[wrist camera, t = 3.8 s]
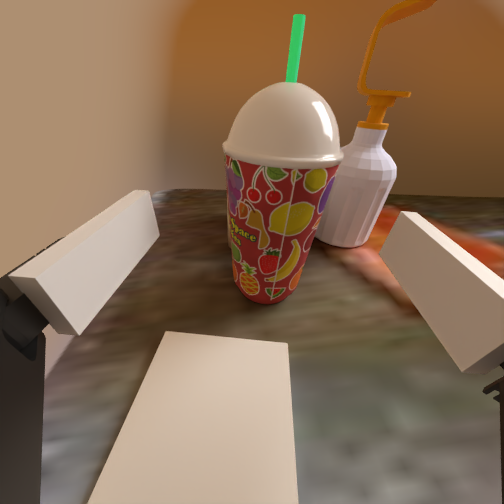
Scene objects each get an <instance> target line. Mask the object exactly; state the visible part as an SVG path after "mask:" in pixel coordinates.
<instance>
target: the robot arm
mask: <svg viewBox="0 0 504 504" xmlns="http://www.w3.org/2000/svg"><path fill="white" fill-rule="evenodd" d="M159 236H160V234H159V230H158V226H157V222H156V218H155V213H154V209H153V205H152V201H151V197H150V193H149V191H143V190H134V191H132V192H131V193H129V194H128V195H126V196H125V197H123V198H122V199H120V200H119V201H117V202H116V203H114V204H113V205H112V206H110V207H109V208H107V209H106V210H104V211H103V212H102V213H100V214H98V215H97V216H95V217H94V218H92V219H91V220H89V221H88V222H86V223H85V224H83V225H82V226H80V227H79V228H78V229H76V230H75V231H73V232H72V233H70V234H69V235H67V236H65V237H63V238H61V239H58V240H57V241H55V242H54V243H52V244H51V245H49V246H48V247H47V248H46V249H43V250H42V251H40V252H39V253H37V255H36V256H33V257H31V258H30V259H28V260H27V261H25V262H24V263H22V264H21V265H19V266H18V267H16V268H15V269H13V270H12V271H10V272H9V273H7V274H6V275H4V276H3V277H1V278H0V504H40V485H41V457H42V430H43V402H44V374H45V346H46V345H45V344H46V338H45V335H44V333H42V330H43V329H44V328H45V327H46V326H47V325H48V324H50V325H51V326H52V327H53V328H54V329H55V331H56V332H57V333H58V334H68V335H78V336H80V334H81V333H82V332H83V331H84V329H85V328H86V327H87V326H88V324H89V323H90V322H91V321H92V319H93V318H94V317H95V316H96V314H97V313H98V312H99V311H100V309H101V308H102V307H103V306H104V304H105V303H106V302H107V301H108V299H109V298H110V297H111V296H112V294H113V293H114V292H115V291H116V289H117V288H118V287H119V286H120V285H121V283H122V282H123V281H124V280H125V278H126V277H127V276H128V275H129V273H130V272H131V271H132V270H133V268H134V267H135V266H136V265H137V263H138V262H139V261H140V260H141V258H142V257H143V256H144V255H145V253H146V252H147V251H148V250H149V248H150V247H151V246H152V245H153V243H154V242H155V241H156V240H157V238H158V237H159ZM379 255H380V257H381V258H382V260H383V261H384V262H385V264H386V265H387V267H388V268H389V270H390V271H391V272H392V274H393V275H394V277H395V278H396V279H397V281H398V282H399V284H400V285H401V287H402V288H403V289H404V291H405V292H406V294H407V295H408V296H409V298H410V299H411V301H412V302H413V304H414V305H415V306H416V308H417V309H418V311H419V312H420V314H421V315H422V316H423V318H424V319H425V321H426V322H427V323H428V325H429V326H430V328H431V329H432V331H433V332H434V333H435V335H436V336H437V338H438V339H439V341H440V342H441V343H442V345H443V346H444V348H445V349H446V350H447V352H448V353H449V355H450V356H451V358H452V359H453V360H454V362H455V363H456V365H457V366H458V368H459V369H460V370H461V372H465V373H476V374H486V373H488V372H490V371H491V370H493V369H494V368H496V367H497V366H499V365H500V366H501V367H502V368H503V369H504V280H503V279H501V278H500V277H499V276H498V275H496V274H495V273H494V272H492V271H491V270H490V269H488V268H487V267H486V266H485V265H483V264H482V263H481V262H479V261H478V260H477V259H476V258H474V257H473V256H472V255H470V254H469V253H468V252H467V251H465V250H464V249H463V248H461V247H460V246H459V245H457V244H456V243H455V242H454V241H452V240H451V239H450V238H448V237H447V236H446V235H445V234H443V233H442V232H441V231H439V230H438V229H437V228H435V227H434V226H433V225H432V224H430V223H429V222H428V221H426V220H425V219H424V218H423V217H421V216H420V215H419V214H417V213H416V212H404V211H401V212H400V214H399V216H398V218H397V220H396V222H395V224H394V226H393V227H392V229H391V231H390V233H389V235H388V237H387V239H386V241H385V243H384V245H383V247H382V248H381V250H380V252H379ZM494 390H496V391H499V392H500V394H499V395H497V396H495V397H493V399H495V400H496V401H498V402H500V431H501V475H502V504H504V376H503V377H502V378H500V379H498V380H496V381H495V382H493V383H491V384H489V385H488V386H486V387H484V389H483V391H482V392H483V393H485V394H488V393H490V392H492V391H494Z"/></svg>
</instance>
